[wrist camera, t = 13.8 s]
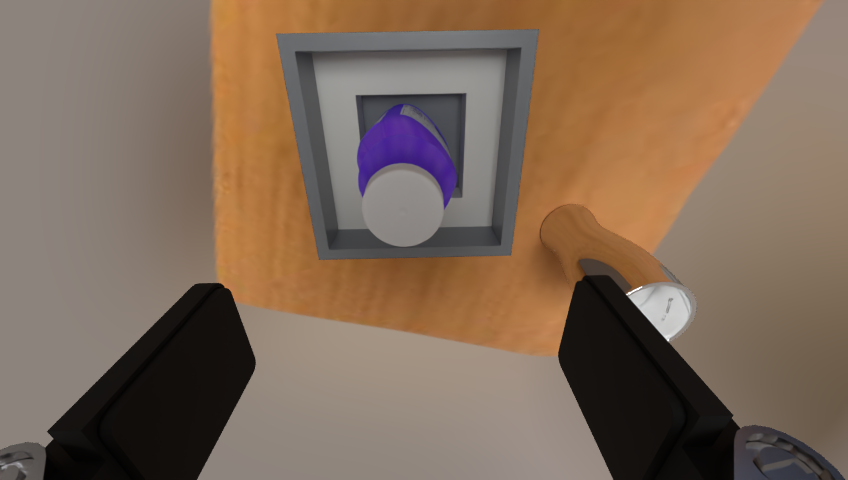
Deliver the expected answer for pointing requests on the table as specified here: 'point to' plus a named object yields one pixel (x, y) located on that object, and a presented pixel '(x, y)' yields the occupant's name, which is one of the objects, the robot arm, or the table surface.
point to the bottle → (404, 176)
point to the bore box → (440, 100)
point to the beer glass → (618, 267)
